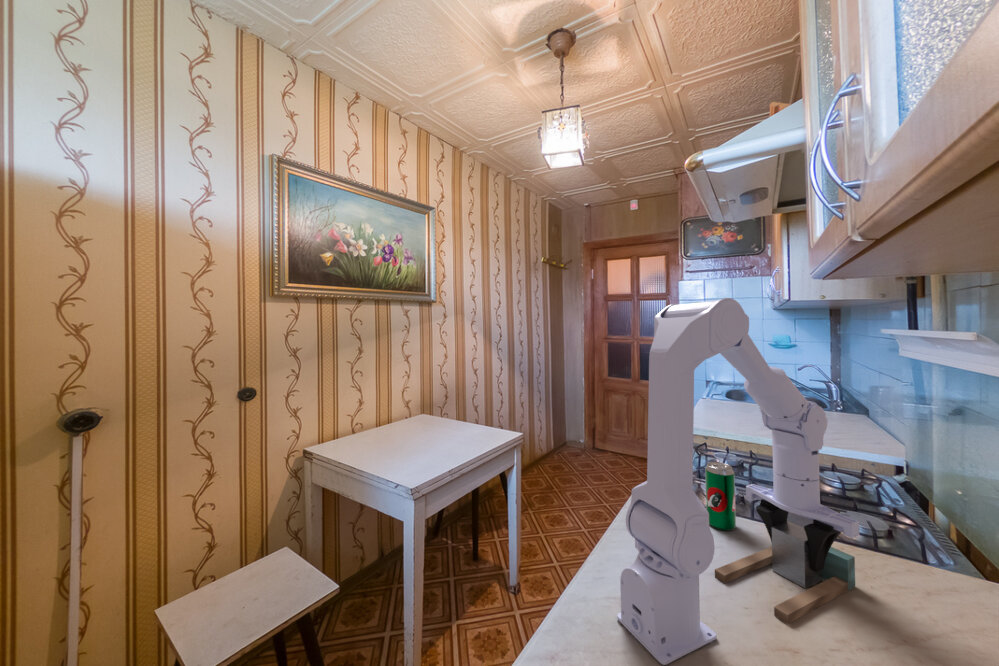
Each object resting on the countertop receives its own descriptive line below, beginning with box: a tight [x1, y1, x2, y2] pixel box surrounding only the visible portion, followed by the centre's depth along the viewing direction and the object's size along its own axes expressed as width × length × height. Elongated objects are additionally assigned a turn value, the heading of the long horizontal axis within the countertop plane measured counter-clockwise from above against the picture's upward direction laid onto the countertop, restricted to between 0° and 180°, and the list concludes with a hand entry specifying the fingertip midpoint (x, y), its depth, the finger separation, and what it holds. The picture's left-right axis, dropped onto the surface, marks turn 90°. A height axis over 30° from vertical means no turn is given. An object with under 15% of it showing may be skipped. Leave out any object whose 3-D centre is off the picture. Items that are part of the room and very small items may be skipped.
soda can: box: [704, 461, 737, 532], centre depth 72 cm, size 5×5×12 cm
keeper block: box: [771, 520, 823, 589], centre depth 57 cm, size 4×4×7 cm
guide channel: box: [714, 546, 856, 625], centre depth 55 cm, size 17×10×4 cm, turn 113°
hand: (797, 559), depth 57 cm, fingers closed on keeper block, 4 cm apart
